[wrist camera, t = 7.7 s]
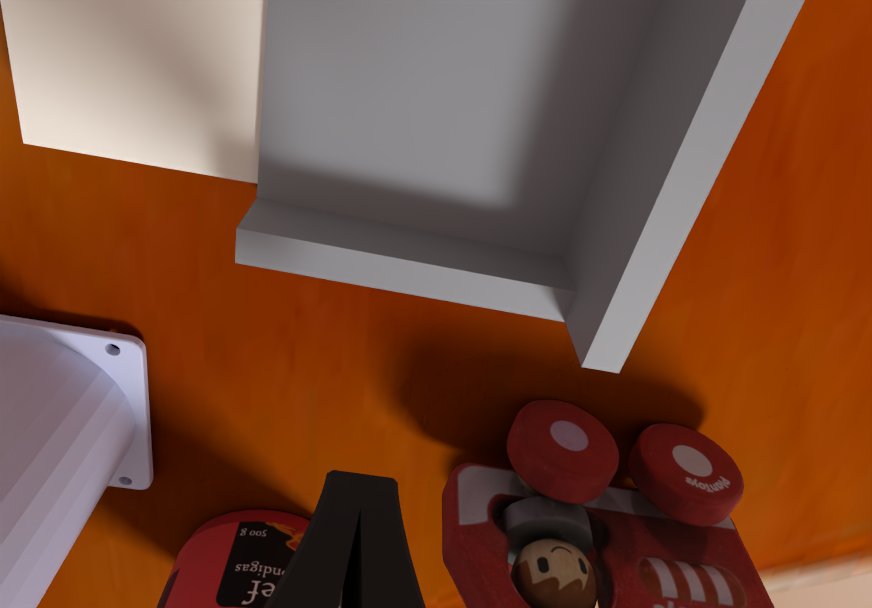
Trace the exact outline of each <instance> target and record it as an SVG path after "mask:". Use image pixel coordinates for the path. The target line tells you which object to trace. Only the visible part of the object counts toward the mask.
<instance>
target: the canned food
mask: <svg viewBox="0 0 872 608" xmlns="http://www.w3.org/2000/svg"><path fill="white" fill-rule="evenodd" d="M309 522H310V521H309V520H308V519H305V518H302V517H300V516H297V515H294V514H290V513H286V512H281V511H275V510H264V509H258V510H243V511H237V512H231V513H227V514H224V515H221V516H218V517H215V518H213V519H211V520H209V521H208V522H206V523H204V524H203V525H202V526H201V527H199V528H198V529H197V530H196V531H195V532H194V533H193V535H192V536H191V537H190V538H189V540H188V541H187V542H186V543H185V545H184V546H183V548H182V549H181V550H180V552H179V554H178V557H177V559H176V561H175V564H174V566H173V569H172V571H171V574H170V576H169V578H168V581H167V583H166V586H165V588H164V591H163V593H162V596H161V598H160V600H159V603H158V605H157V608H263V607H264V605H265V604H266V602H267V600H268V599H269V597H270V595H271V594H272V592H273V590H274V589H275V587H276V585H277V583H278V582H279V580H280V578H281V577H282V575H283V573H284V571H285V570H286V568H287V566H288V564H289V562H290V560H291V558H292V556H293V555H294V553H295V551H296V549H297V547H298V545H299V543H300V541H301V539H302V537H303V535H304V533H305V531H306V529H307V527H308V525H309ZM341 600H342V593H341V598H340V602H339V606H338V608H341Z"/></svg>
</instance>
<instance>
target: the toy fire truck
mask: <svg viewBox="0 0 872 608" xmlns="http://www.w3.org/2000/svg"><path fill="white" fill-rule="evenodd" d="M507 453H508V456H509V459H510V462H511V465H512V466H513V468H514V469H508V468H503V467H496V466H489V465H483V464H478V463H463V464H460V465H458V466H457V467H456V468H455V469H454V470H453V471H452V473H451V474H450V476H449V479H448V481H447V483H446V486H445V488H444V490H443V494H442V554H443V561H444V564H445V566H446V568H447V569H448V571H449V573H450V575H451V577H452V579H453V581H454V583H455V585H456V587H457V589H458V591H459V594H460V595H461V597H462V599H463V601H464V603H465V605H466V607H467V608H595V605H596V601H597V600H598V606H599V608H774V606H773V603H772V602H771V600H770V598H769V595H768V593H767V591H766V589H765V587H764V585H763V583H762V581H761V579H760V577H759V575H758V573H757V571H756V569H755V567H754V564H753V562H752V560H751V558H750V556H749V554H748V552H747V550H746V548H745V547H744V544H743V542H742V540H741V538H740V536H739V533H738V531H737V529H736V527H735V525H734V522H733V521H732V519H731V518H730V517H729V514H730V513H731V512H732V510H733V509H734V508H735V506H736V505H737V504H738V502H739V501H740V499H741V498H742V494H743V489H744V483H743V478H742V475H741V472H740V471H739V469H738V467H737V465H736V464H735V462H734V461H733V459H732V458H731V457H730V456H729V455H728V454H727V453H726V452H725V451H724V450H723V449H722V448H721V447H720V446H719V445H718V444H716V443H715V442H713V441H712V440H711V439H709V438H708V437H706V436H705V435H703V434H701V433H699V432H697V431H695V430H692V429H690V428H687V427H684V426H681V425H677V424H668V423H659V424H654V425H651V426H649V427H647V428H646V429H645V430H644V431H642V433H641V434H640V435H639V437H638V439H637V441H636V443H635V444H634V446H633V448H632V449H631V451H630V455H629V458H628V469H629V473H630V476H631V478H632V480H633V482H634V484H635V485H636V487H637V488H634V489H632V488H625V487H618V486H613V485H609V483H610V482H611V480H612V478H613V477H614V475H615V473H616V471H617V469H618V464H619V452H618V448H617V445H616V443H615V440H614V438H613V437H612V435H611V434H610V432H609V431H608V430H607V428H606V427H605V426H604V425H603V424H602V423H601V422H600V421H599V420H598V419H596V418H595V417H594V416H592V415H591V414H589V413H588V412H586V411H585V410H583V409H581V408H579V407H577V406H575V405H573V404H570V403H567V402H564V401H558V400H537V401H534V402H530V403H528V404H527V405H525V406H524V407H523V408H522V409H521V410H520V411H519V412H518V414H517V415H516V418H515V420H514V422H513V425H512V427H511V429H510V432H509V434H508V438H507Z"/></svg>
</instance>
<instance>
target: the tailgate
mask: <svg viewBox="0 0 872 608" xmlns="http://www.w3.org/2000/svg"><path fill="white" fill-rule="evenodd" d="M0 2H1V8H2V14H3V20H4V26H5V33H6V39H7V45H8V51H9V57H10V64H11V70H12V76H13V82H14V88H15V94H16V101H17V107H18V113H19V119H20V125H21V132H22V138H23V143H25V144H31V145H37V146H43V147H48V148H54V149H60V150H66V151H72V152H77V153H83V154H89V155H95V156H100V157H106V158H112V159H118V160H123V161H129V162H135V163H141V164H147V165H152V166H158V167H164V168H170V169H175V170H181V171H187V172H193V173H198V174H204V175H210V176H216V177H222V178H227V179H233V180H239V181H245V182H250V183H256V184H257V182H258V164H259V147H260V130H261V112H262V95H263V78H264V60H265V43H266V25H267V8H268V0H0Z"/></svg>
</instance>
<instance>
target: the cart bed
mask: <svg viewBox="0 0 872 608" xmlns="http://www.w3.org/2000/svg"><path fill="white" fill-rule="evenodd" d="M804 1H805V0H268V8H267V25H266V43H265V60H264V78H263V95H262V112H261V130H260V147H259V164H258V182H257V198H256V200H255V201H254V203H253V204H252V206H251V207H250V209H249V210H248V212H247V213H246V215H245V216H244V218H243V219H242V221H241V222H240V224H239V225H238V227H237V229H236V254H235V263H239V264H244V265H250V266H256V267H261V268H267V269H272V270H278V271H283V272H289V273H295V274H300V275H306V276H311V277H317V278H322V279H328V280H333V281H339V282H345V283H350V284H356V285H361V286H367V287H372V288H378V289H384V290H389V291H395V292H400V293H406V294H411V295H417V296H422V297H428V298H434V299H439V300H445V301H450V302H456V303H461V304H467V305H473V306H478V307H484V308H489V309H495V310H500V311H506V312H511V313H517V314H523V315H528V316H534V317H539V318H545V319H550V320H556V321H562V322H565V324H566V326H567V329H568V332H569V335H570V337H571V340H572V343H573V345H574V348H575V351H576V354H577V356H578V359H579V362H580V364H581V367H584V368H590V369H596V370H602V371H608V372H614V373H619V372H620V370H621V368H622V366H623V364H624V362H625V360H626V358H627V356H628V354H629V352H630V350H631V348H632V346H633V344H634V342H635V340H636V338H637V336H638V334H639V332H640V330H641V328H642V326H643V324H644V322H645V320H646V318H647V316H648V314H649V312H650V310H651V308H652V306H653V304H654V302H655V300H656V298H657V296H658V294H659V292H660V290H661V288H662V286H663V284H664V282H665V280H666V278H667V276H668V274H669V272H670V270H671V268H672V266H673V264H674V262H675V260H676V258H677V256H678V254H679V252H680V250H681V248H682V246H683V244H684V242H685V240H686V238H687V236H688V234H689V232H690V230H691V228H692V226H693V224H694V222H695V220H696V218H697V216H698V214H699V212H700V210H701V208H702V206H703V204H704V202H705V200H706V198H707V196H708V194H709V192H710V190H711V188H712V186H713V184H714V182H715V179H716V177H717V175H718V173H719V171H720V169H721V167H722V165H723V163H724V161H725V159H726V157H727V155H728V153H729V151H730V149H731V147H732V145H733V143H734V141H735V139H736V137H737V135H738V133H739V131H740V129H741V127H742V125H743V123H744V121H745V119H746V117H747V115H748V113H749V111H750V109H751V107H752V105H753V103H754V101H755V99H756V97H757V95H758V93H759V91H760V89H761V87H762V85H763V83H764V81H765V79H766V77H767V75H768V73H769V71H770V69H771V67H772V65H773V63H774V61H775V59H776V57H777V55H778V53H779V51H780V49H781V47H782V45H783V43H784V41H785V39H786V37H787V35H788V33H789V31H790V29H791V27H792V25H793V23H794V21H795V19H796V17H797V15H798V13H799V11H800V9H801V7H802V5H803V3H804Z"/></svg>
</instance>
